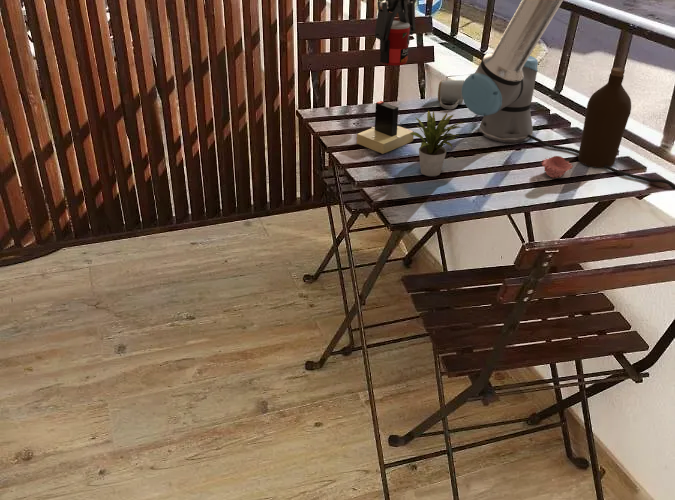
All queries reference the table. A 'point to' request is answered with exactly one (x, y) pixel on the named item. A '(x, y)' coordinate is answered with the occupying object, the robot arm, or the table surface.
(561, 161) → the flower
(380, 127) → the red-topped black block
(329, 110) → the table surface
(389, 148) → the tan box
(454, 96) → the ceramic mug
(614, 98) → the olive oil
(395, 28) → the canned food
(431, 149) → the house plant
